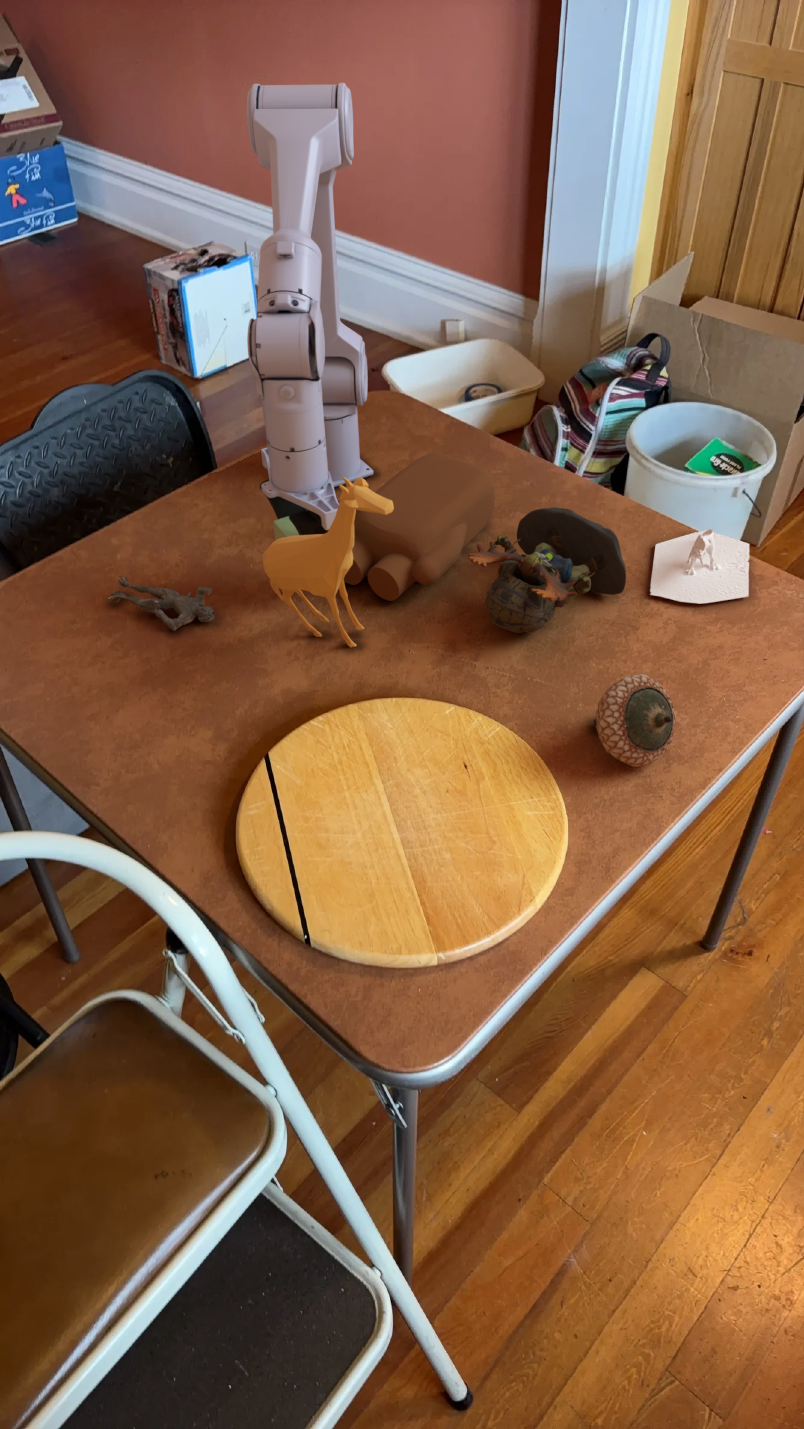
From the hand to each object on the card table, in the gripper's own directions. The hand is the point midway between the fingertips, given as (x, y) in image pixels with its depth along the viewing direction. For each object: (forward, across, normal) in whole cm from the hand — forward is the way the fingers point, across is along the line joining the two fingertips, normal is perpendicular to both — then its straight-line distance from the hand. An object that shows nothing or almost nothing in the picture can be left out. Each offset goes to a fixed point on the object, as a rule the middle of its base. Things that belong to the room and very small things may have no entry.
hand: (307, 553), depth 106 cm
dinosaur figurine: (+6, +20, +39) cm, 44 cm away
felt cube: (+1, 0, 0) cm, 1 cm away
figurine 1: (+5, -6, -15) cm, 17 cm away
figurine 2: (+5, +15, +20) cm, 26 cm away
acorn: (+5, +33, +14) cm, 36 cm away
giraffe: (+5, +10, 0) cm, 11 cm away
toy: (+5, -1, +14) cm, 15 cm away
